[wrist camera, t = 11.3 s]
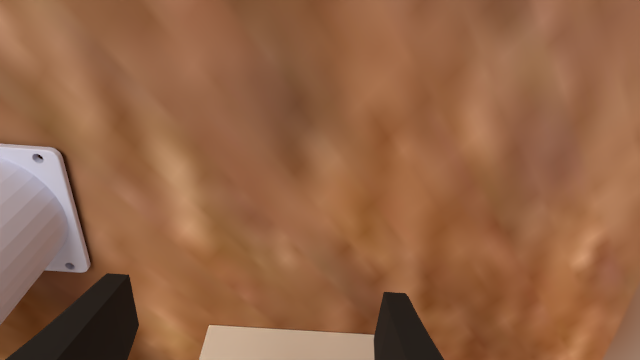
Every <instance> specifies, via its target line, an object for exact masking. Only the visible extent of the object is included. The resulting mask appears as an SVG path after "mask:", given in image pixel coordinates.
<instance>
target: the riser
mask: <svg viewBox="0 0 640 360" xmlns="http://www.w3.org/2000/svg"><path fill="white" fill-rule="evenodd" d="M199 360H375V359H374V335H369V334H353V333H336V332H319V331H302V330H285V329H268V328H251V327H235V326H218V325H209V327H208V330H207V334H206V337H205V341H204V344H203V348H202V351H201V355H200V358H199Z"/></svg>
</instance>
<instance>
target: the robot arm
mask: <svg viewBox="0 0 640 360" xmlns="http://www.w3.org/2000/svg"><path fill="white" fill-rule="evenodd" d="M37 154H39V155H41V156H42V157H43V159H44V160H43V159H40V158H39V157H38V155H37ZM71 263H72V264H71ZM89 267H90V260H89V256H88V252H87V248H86V244H85V241H84V237H83V233H82V229H81V225H80V222H79V218H78V214H77V210H76V206H75V203H74V199H73V195H72V191H71V187H70V184H69V180H68V176H67V172H66V169H65V165H64V161H63V157H62V155H61V153H60V152H59V151H58V150H56V149H55V148H51V147H40V146H26V145H12V144H0V325H1V324H2V322H3V321H4V320H5V319H6V317H7V316H8V315H9V314H10V312H11V311H12V310H13V309H14V307H15V306H16V305H17V304H18V302H19V301H20V300H21V299H22V297H23V296H24V295H25V294H26V292H27V291H28V290H29V289H30V287H31V286H32V285H33V284H34V282H35V281H36V280H37V279H38V277H39V276H40V275H41V274H42V272H43V271H44V270H47V271H63V272H79V273H82V272H86V271H87V270H88V268H89ZM138 326H139V323H138V318H137V313H136V308H135V303H134V298H133V293H132V287H131V282H130V277H129V275H123V274H109V273H107V274H106V275H105V276H103V277H102V278H101V279H100V280H99V281H98V282H96V283H95V284H94V285H93V286H92V287H91V288H90V289H89V290H87V291H86V292H85V293H84V294H83V295H82V296H81V297H80V298H78V299H77V300H76V301H75V302H74V303H73V304H72V305H71V306H69V307H68V308H67V309H66V310H65V311H64V312H63V313H61V314H60V315H59V316H58V317H57V318H56V319H54V320H53V321H52V322H51V323H50V324H49V325H47V326H46V327H45V328H44V329H43V330H42V331H40V332H39V333H38V334H37V335H36V336H34V337H33V338H32V339H31V340H29V341H28V342H27V343H26V344H24V345H23V346H22V347H21V348H19V349H18V350H17V351H16V352H14V353H13V354H12V355H10V356H9V357H8V358H7V359H5V360H127V359H128V356H129V353H130V350H131V347H132V345H133V342H134V338H135V335H136V332H137V329H138ZM374 359H375V360H444V359H443V357H442V355H441V354H440V352H439V351H438V349H437V348H436V346H435V344H434V343H433V341H432V339H431V338H430V336H429V334H428V333H427V331H426V329H425V327H424V326H423V324H422V322H421V320H420V318H419V317H418V315H417V313H416V311H415V309H414V307H413V305H412V303H411V301H410V299H409V297H408V296H407V295H406V294H405V293H392V292H384V294H383V299H382V303H381V308H380V313H379V317H378V322H377V326H376V331H375V335H374Z"/></svg>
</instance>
